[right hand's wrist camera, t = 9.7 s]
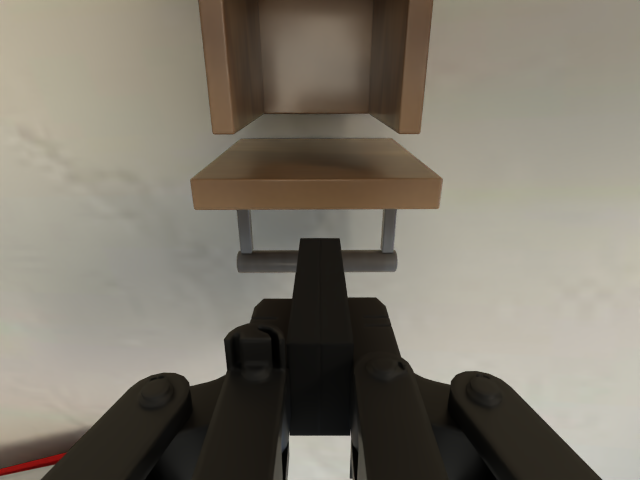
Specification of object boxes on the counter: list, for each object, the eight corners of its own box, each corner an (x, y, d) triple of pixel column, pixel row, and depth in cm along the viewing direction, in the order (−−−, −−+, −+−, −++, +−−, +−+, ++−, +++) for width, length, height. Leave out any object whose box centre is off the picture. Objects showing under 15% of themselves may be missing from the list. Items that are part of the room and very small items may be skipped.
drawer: (385, 235, 26) (425, 324, 16) (247, 236, 26) (209, 326, 16) (417, -200, 17) (532, -517, 8) (212, -201, 17) (93, -522, 8)
